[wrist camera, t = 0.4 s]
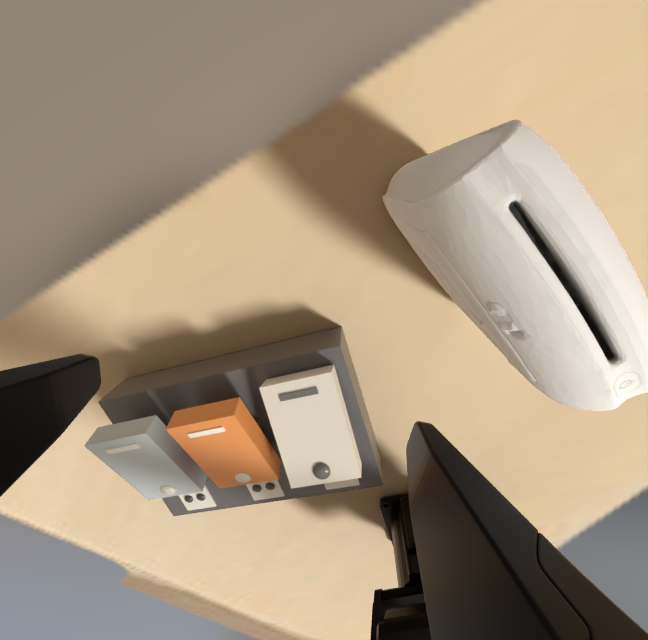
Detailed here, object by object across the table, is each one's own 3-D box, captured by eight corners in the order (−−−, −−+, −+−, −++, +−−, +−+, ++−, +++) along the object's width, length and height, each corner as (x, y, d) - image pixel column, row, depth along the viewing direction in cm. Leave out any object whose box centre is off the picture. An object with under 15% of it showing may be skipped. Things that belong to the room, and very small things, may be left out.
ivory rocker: (361, 463, 21) (361, 478, 19) (296, 474, 22) (290, 489, 20) (334, 364, 20) (331, 372, 18) (266, 379, 21) (258, 388, 19)
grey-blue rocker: (208, 473, 24) (202, 492, 23) (157, 482, 25) (148, 501, 24) (156, 415, 21) (145, 434, 19) (97, 427, 21) (83, 447, 20)
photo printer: (524, 278, 20) (750, 394, 9) (463, 318, 21) (592, 464, 10) (431, 140, 18) (578, 48, 6) (369, 194, 19) (398, 200, 8)
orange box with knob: (281, 460, 23) (278, 480, 22) (224, 470, 24) (219, 490, 23) (239, 397, 20) (233, 416, 18) (174, 410, 20) (164, 430, 19)
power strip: (380, 454, 26) (384, 492, 23) (190, 485, 30) (170, 522, 26) (341, 326, 22) (339, 350, 19) (125, 379, 26) (92, 407, 22)
